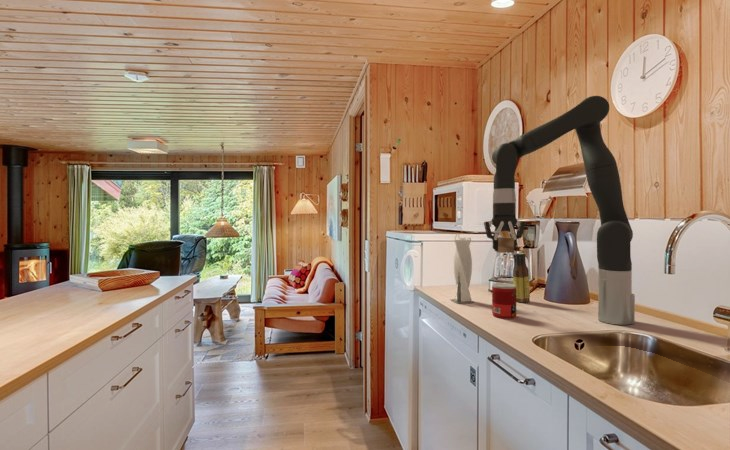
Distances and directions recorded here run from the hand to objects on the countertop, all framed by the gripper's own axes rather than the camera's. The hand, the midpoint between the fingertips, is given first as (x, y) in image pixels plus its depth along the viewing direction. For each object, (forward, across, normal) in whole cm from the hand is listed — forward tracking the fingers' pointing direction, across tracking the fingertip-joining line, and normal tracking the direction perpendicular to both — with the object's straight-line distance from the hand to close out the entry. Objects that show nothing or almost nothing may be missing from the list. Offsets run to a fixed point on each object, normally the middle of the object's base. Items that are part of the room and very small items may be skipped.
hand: (504, 250), depth 135 cm
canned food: (+23, 0, 0) cm, 23 cm away
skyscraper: (+23, +10, -24) cm, 35 cm away
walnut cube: (0, 0, 0) cm, 0 cm away
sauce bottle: (+23, -14, -24) cm, 36 cm away
